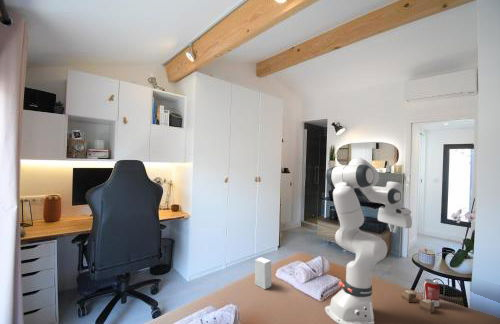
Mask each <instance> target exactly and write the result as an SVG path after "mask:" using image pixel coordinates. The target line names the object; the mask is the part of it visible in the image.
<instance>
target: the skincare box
mask: <svg viewBox="0 0 500 324" xmlns="http://www.w3.org/2000/svg"><path fill="white" fill-rule="evenodd" d="M254 285H255V286H258V287H259V288H261V289H264V290H266V289H268V288H271V287H272V260H270V259H267V258H264V257H262V256H260V257H257V258H256V259H254Z"/></svg>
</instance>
